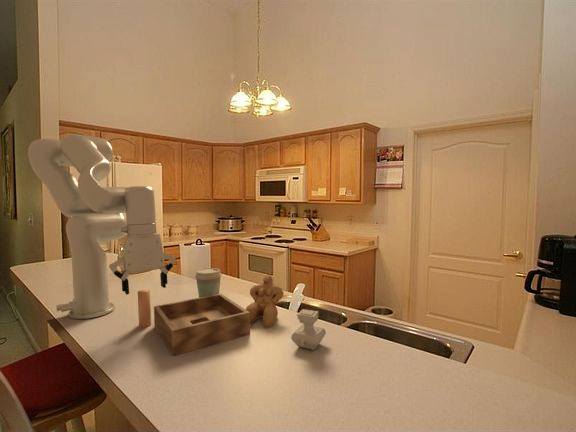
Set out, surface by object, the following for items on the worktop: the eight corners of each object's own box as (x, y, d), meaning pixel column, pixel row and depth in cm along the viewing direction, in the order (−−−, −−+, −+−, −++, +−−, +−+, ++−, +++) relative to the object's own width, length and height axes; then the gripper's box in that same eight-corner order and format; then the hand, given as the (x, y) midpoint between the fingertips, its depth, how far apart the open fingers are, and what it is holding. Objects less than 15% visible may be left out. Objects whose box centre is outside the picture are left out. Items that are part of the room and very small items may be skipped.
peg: (140, 328, 90) (138, 293, 89) (138, 324, 93) (136, 290, 92) (152, 325, 92) (150, 291, 91) (149, 322, 94) (148, 288, 94)
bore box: (173, 355, 74) (172, 330, 74) (154, 326, 91) (153, 306, 90) (250, 334, 85) (249, 312, 85) (221, 312, 102) (220, 293, 102)
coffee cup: (215, 310, 103) (214, 274, 102) (191, 309, 105) (190, 273, 104) (226, 302, 111) (225, 268, 111) (203, 300, 113) (202, 267, 112)
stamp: (315, 356, 73) (314, 321, 73) (288, 351, 76) (288, 316, 76) (327, 340, 81) (327, 308, 81) (303, 335, 84) (303, 304, 84)
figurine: (238, 325, 92) (243, 272, 95) (252, 323, 100) (256, 275, 104) (273, 328, 88) (276, 273, 92) (285, 326, 96) (287, 275, 100)
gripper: (108, 234, 82) (112, 299, 83) (176, 228, 92) (180, 287, 93) (105, 232, 89) (109, 293, 89) (170, 227, 98) (173, 282, 99)
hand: (145, 290), depth 91 cm, fingers open, 9 cm apart
